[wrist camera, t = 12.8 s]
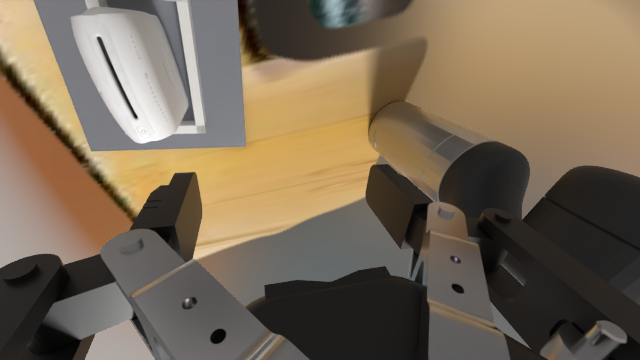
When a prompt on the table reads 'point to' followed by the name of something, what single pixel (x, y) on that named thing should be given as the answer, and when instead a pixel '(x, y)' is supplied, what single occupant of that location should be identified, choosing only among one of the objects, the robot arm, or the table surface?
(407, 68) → the table surface
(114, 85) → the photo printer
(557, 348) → the robot arm
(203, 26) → the dock
